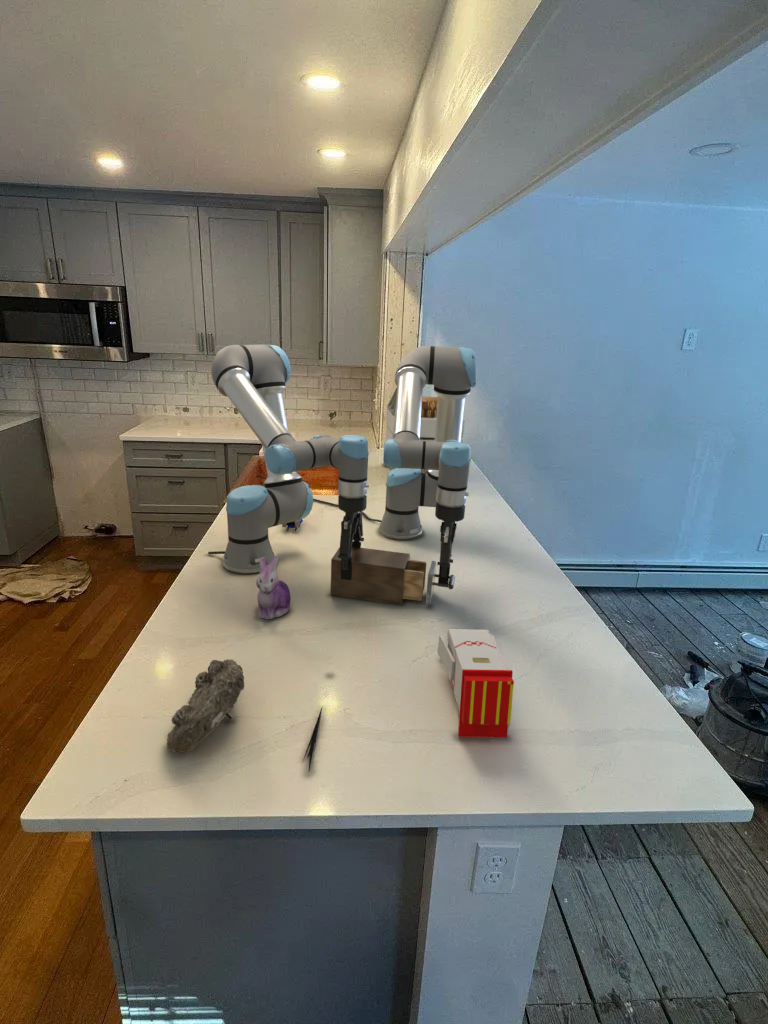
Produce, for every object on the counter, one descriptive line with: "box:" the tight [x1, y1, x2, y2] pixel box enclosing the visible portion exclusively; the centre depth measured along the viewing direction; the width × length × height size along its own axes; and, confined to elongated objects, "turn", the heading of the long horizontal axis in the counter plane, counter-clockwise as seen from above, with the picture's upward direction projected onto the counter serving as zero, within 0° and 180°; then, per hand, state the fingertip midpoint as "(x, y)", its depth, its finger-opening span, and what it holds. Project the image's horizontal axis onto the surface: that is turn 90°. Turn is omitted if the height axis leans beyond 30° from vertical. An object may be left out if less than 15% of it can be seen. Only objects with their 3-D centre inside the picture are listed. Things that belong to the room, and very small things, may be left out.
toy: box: [437, 628, 515, 738], centre depth 117 cm, size 12×13×30 cm
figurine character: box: [281, 519, 304, 532], centre depth 201 cm, size 7×8×15 cm
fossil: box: [166, 658, 245, 754], centre depth 106 cm, size 22×10×15 cm
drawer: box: [403, 559, 456, 606], centre depth 155 cm, size 24×9×9 cm, turn 79°
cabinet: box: [330, 546, 411, 606], centre depth 156 cm, size 20×10×11 cm, turn 79°
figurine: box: [255, 555, 292, 620], centre depth 143 cm, size 9×10×15 cm
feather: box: [301, 673, 332, 771], centre depth 108 cm, size 2×28×2 cm
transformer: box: [383, 387, 465, 472], centre depth 268 cm, size 34×33×41 cm
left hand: (350, 570), depth 157 cm, fingers closed on cabinet, 10 cm apart
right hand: (443, 585), depth 153 cm, fingers closed
